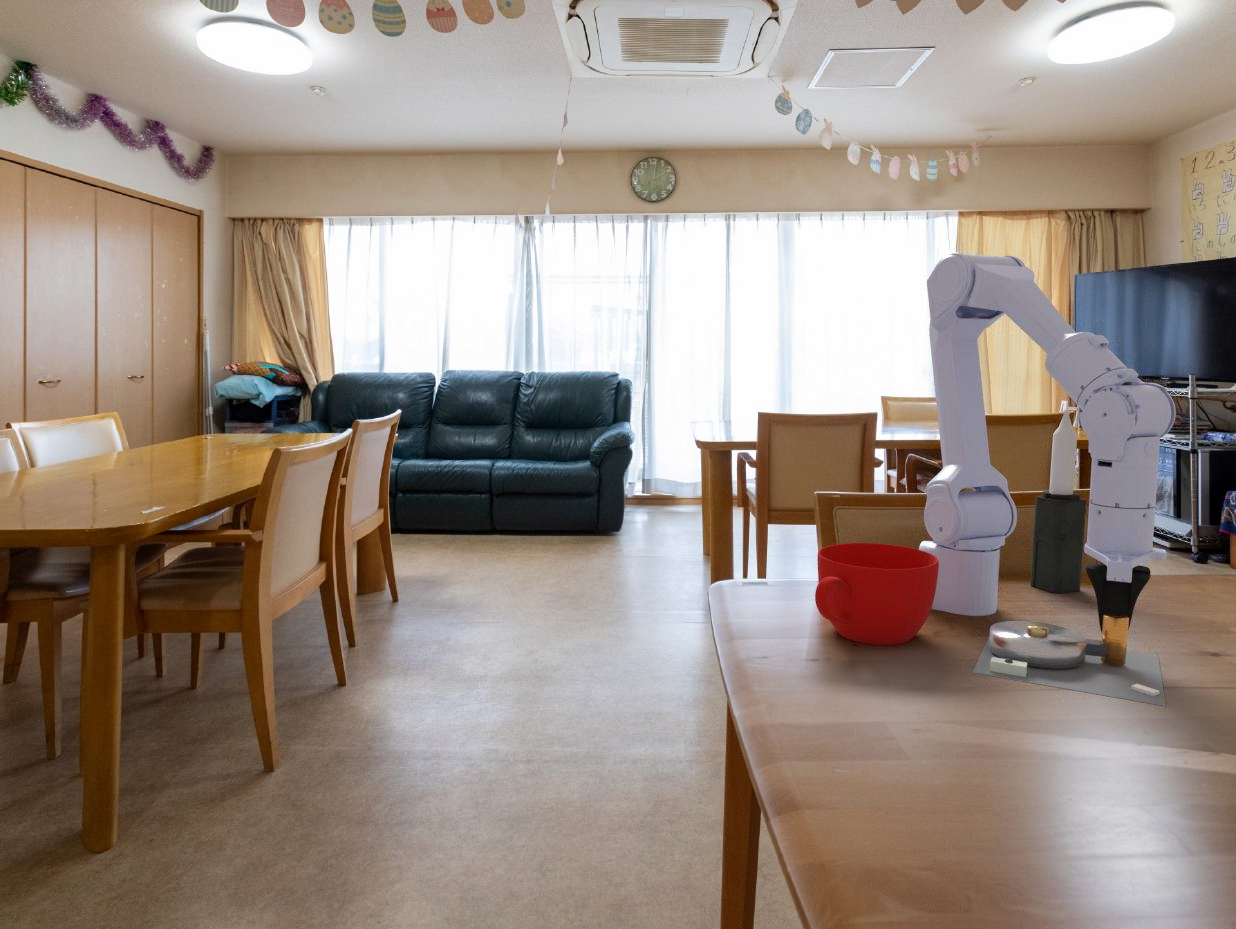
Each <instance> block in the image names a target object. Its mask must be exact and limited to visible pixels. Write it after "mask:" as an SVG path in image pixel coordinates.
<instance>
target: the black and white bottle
mask: <svg viewBox="0 0 1236 929" xmlns="http://www.w3.org/2000/svg"><path fill="white" fill-rule="evenodd" d="M1062 413H1063V416H1062V418H1061V421H1060V423H1059V426H1058V427H1057V428H1056V429H1055V431H1054V432H1053V434H1052V447H1051V461H1050V476H1049V490H1043V491H1042V493H1041V494H1042V495H1036V496H1035V501H1034V502H1035V503H1034V519H1033V532H1032V533H1033V534H1032V552H1031V564H1030V579H1029V580H1030V581H1029V583H1030V584H1029V585H1030V586H1031V587H1034V588H1037V589H1041V590H1043V591H1046V592H1049V593H1054V594H1063V593H1064V594H1065V593H1075V592H1080V591H1081V584H1082V582H1081V581H1082V568H1083V557H1084V556H1083V555H1084V554H1083V553H1084V544H1085V542H1084V538H1085V525H1086V514H1087V512H1086V510H1087V499H1085V498H1083V497H1081V494H1080V493H1078V492H1074V490H1075V489H1074V488H1075V487H1074V486H1075V471H1076V459H1077V458H1076V456H1077V444H1078V443H1077V442H1078V434H1077V432H1076V430H1075V429H1074V427H1073V425H1072V420H1071V418H1070V417H1071V416H1070V414H1071V411H1070V410H1069V409H1067V408H1066V409H1063V411H1062Z"/></svg>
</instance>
